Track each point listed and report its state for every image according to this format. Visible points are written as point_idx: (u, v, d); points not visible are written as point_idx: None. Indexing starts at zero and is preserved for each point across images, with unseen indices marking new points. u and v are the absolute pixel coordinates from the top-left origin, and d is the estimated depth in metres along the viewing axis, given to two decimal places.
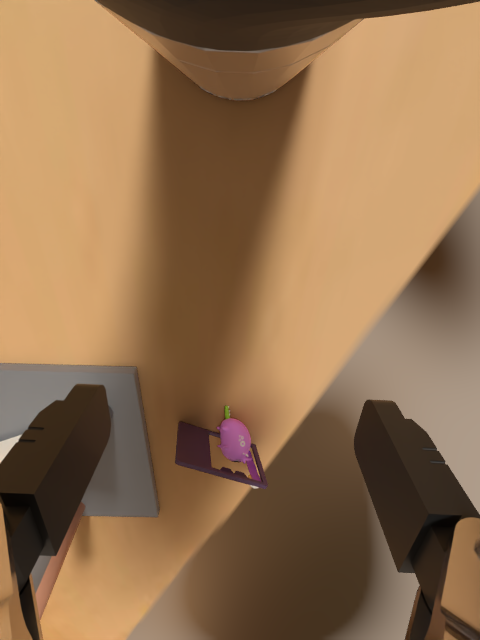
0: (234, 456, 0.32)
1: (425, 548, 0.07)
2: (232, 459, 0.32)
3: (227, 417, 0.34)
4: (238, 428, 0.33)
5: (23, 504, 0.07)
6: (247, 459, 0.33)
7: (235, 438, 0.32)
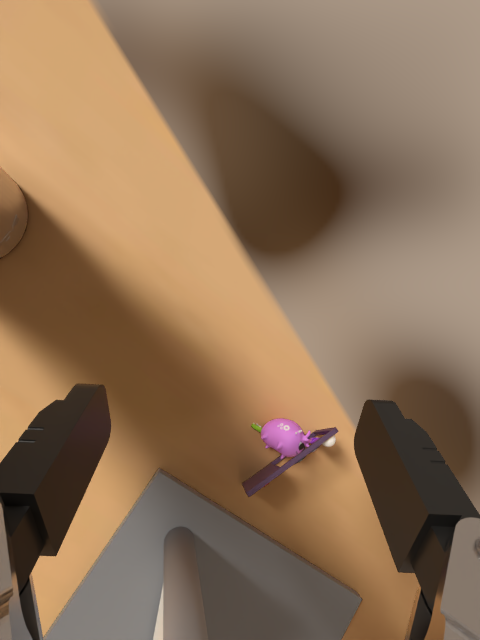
0: (293, 443, 0.29)
1: (424, 548, 0.07)
2: (296, 448, 0.29)
3: (260, 429, 0.32)
4: (271, 423, 0.31)
5: (23, 504, 0.07)
6: (306, 435, 0.30)
7: (277, 431, 0.30)
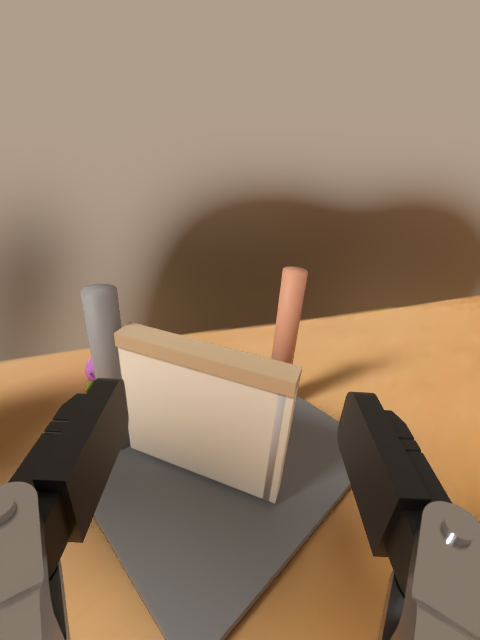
0: None
1: (397, 532, 0.07)
2: None
3: (89, 381, 0.40)
4: None
5: (54, 491, 0.07)
6: None
7: (89, 362, 0.40)
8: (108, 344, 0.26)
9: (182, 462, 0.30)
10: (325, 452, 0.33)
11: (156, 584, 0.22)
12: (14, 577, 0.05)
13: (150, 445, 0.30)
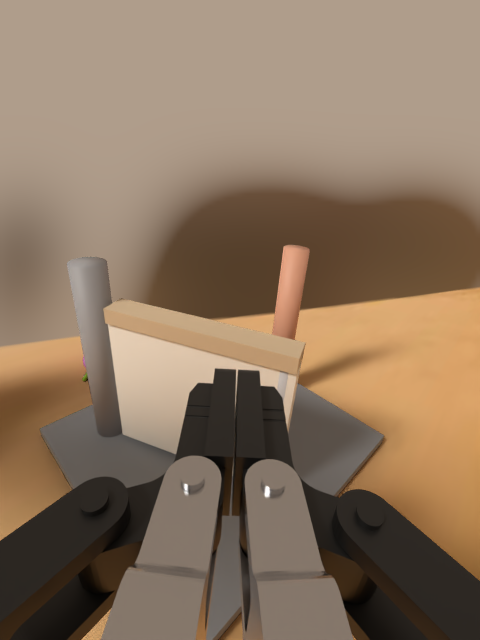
0: None
1: (241, 490, 0.08)
2: None
3: None
4: (83, 357, 0.38)
5: (221, 466, 0.08)
6: None
7: None
8: (97, 321, 0.25)
9: None
10: (327, 440, 0.32)
11: None
12: (188, 550, 0.06)
13: (143, 431, 0.29)
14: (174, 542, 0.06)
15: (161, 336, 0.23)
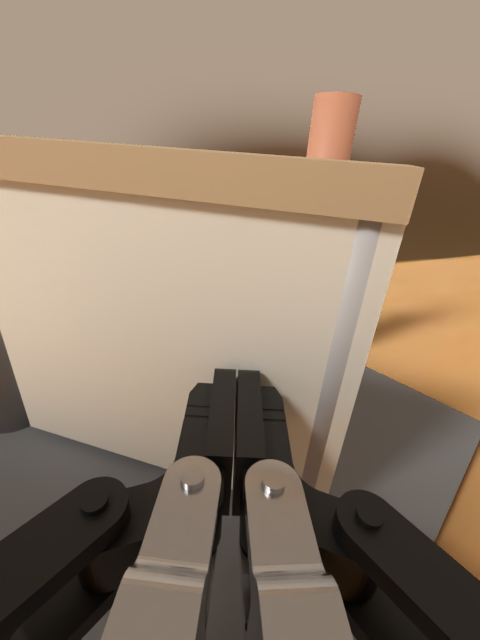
0: None
1: (241, 490, 0.08)
2: None
3: None
4: None
5: (221, 466, 0.08)
6: None
7: None
8: None
9: (128, 447, 0.15)
10: (394, 433, 0.18)
11: None
12: (188, 549, 0.06)
13: (64, 417, 0.15)
14: (174, 542, 0.06)
15: (62, 180, 0.10)
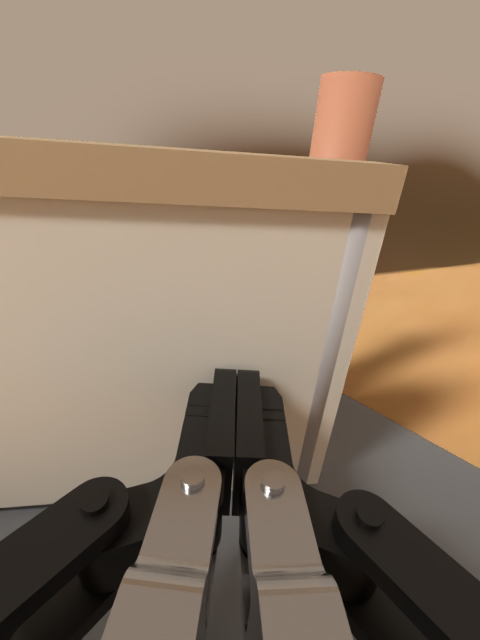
0: None
1: (241, 490, 0.08)
2: None
3: None
4: None
5: (221, 466, 0.08)
6: None
7: None
8: None
9: None
10: (424, 519, 0.14)
11: None
12: (188, 549, 0.06)
13: (14, 483, 0.12)
14: (175, 541, 0.06)
15: (11, 189, 0.08)
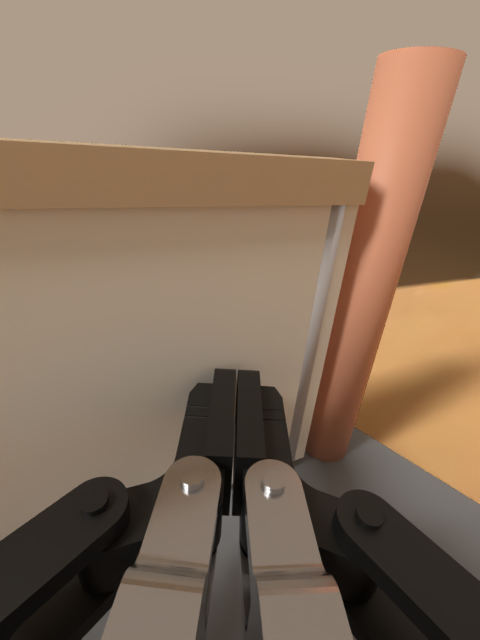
0: None
1: (241, 490, 0.08)
2: None
3: None
4: None
5: (221, 466, 0.08)
6: None
7: None
8: None
9: None
10: None
11: None
12: (188, 549, 0.06)
13: None
14: (175, 542, 0.06)
15: None
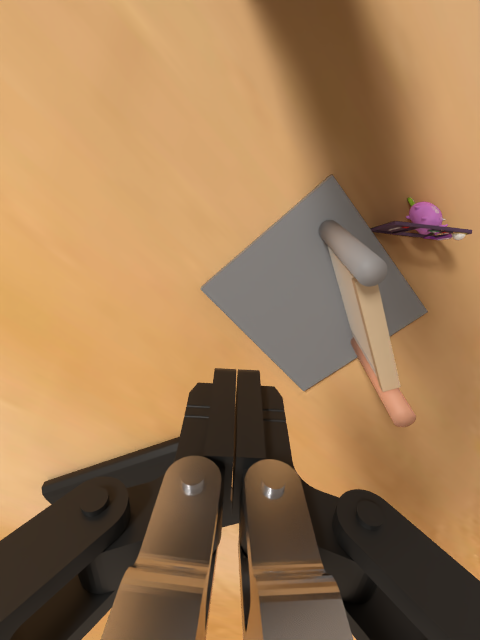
0: (434, 222, 0.39)
1: (241, 490, 0.08)
2: None
3: (413, 203, 0.41)
4: (428, 203, 0.40)
5: (221, 466, 0.08)
6: (443, 225, 0.39)
7: (429, 209, 0.39)
8: (343, 263, 0.32)
9: (339, 285, 0.45)
10: (303, 361, 0.52)
11: (231, 271, 0.45)
12: (188, 549, 0.06)
13: (334, 265, 0.43)
14: (175, 541, 0.06)
15: (362, 318, 0.35)
